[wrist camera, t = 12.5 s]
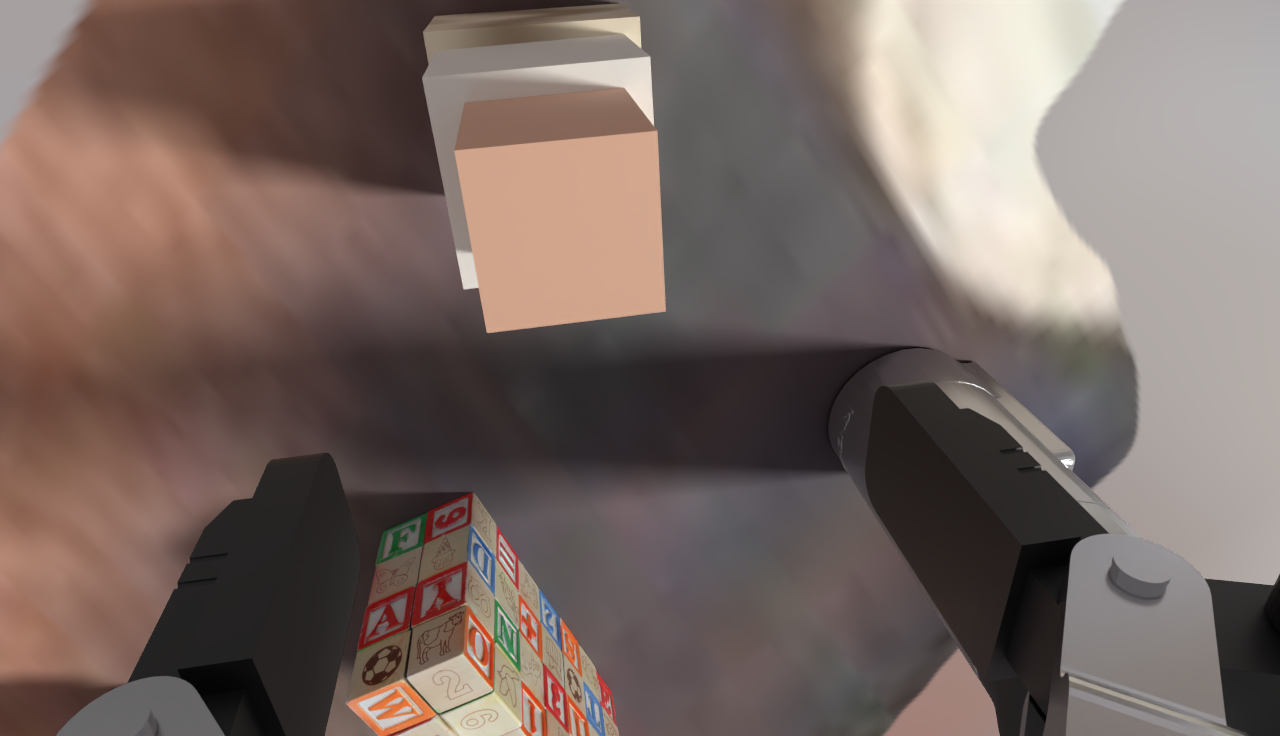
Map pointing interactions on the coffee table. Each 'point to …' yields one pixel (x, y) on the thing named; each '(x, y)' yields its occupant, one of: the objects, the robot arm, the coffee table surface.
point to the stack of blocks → (468, 640)
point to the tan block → (562, 208)
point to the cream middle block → (521, 76)
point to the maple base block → (529, 26)
